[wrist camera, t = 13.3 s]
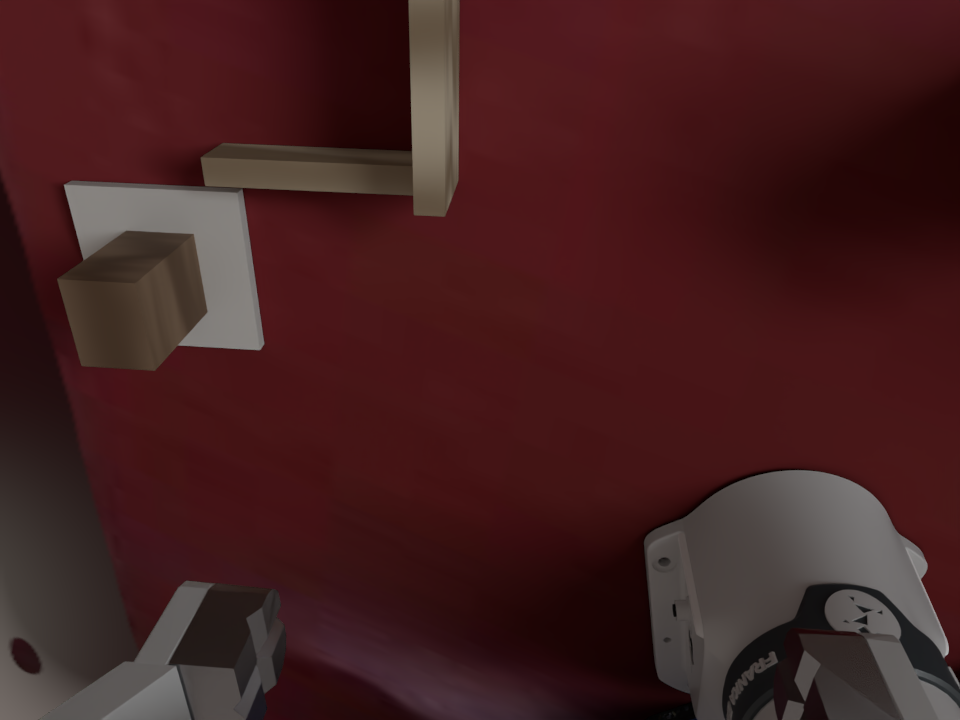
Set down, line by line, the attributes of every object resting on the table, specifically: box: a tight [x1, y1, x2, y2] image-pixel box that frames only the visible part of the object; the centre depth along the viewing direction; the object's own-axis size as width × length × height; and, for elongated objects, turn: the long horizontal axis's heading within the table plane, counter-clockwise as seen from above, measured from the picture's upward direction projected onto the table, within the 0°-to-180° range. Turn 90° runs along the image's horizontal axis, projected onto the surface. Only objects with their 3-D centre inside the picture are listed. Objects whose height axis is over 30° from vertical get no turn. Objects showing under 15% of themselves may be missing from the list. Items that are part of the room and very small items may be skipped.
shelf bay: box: [201, 0, 459, 216], centre depth 35 cm, size 16×13×6 cm
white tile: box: [64, 181, 264, 350], centre depth 45 cm, size 10×10×1 cm
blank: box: [57, 231, 208, 371], centre depth 41 cm, size 4×5×7 cm
